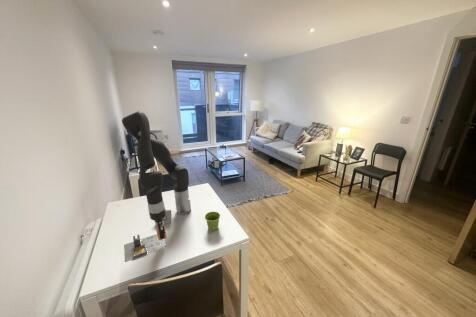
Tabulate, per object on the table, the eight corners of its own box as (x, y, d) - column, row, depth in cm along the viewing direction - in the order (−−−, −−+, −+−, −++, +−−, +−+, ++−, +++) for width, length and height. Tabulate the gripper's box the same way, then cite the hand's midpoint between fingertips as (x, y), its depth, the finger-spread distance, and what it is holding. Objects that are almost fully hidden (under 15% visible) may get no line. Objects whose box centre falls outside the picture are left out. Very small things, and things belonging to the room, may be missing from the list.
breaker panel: (163, 234, 117) (162, 230, 116) (167, 248, 107) (166, 244, 106) (124, 246, 108) (123, 243, 107) (125, 264, 97) (124, 260, 96)
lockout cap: (165, 233, 109) (163, 222, 106) (166, 237, 106) (164, 226, 103) (157, 236, 107) (155, 224, 104) (158, 240, 104) (156, 229, 101)
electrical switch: (156, 225, 125) (154, 212, 122) (159, 221, 130) (157, 208, 127) (171, 225, 125) (169, 212, 122) (173, 221, 130) (172, 208, 127)
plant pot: (202, 230, 120) (201, 218, 117) (209, 221, 128) (209, 210, 125) (216, 234, 117) (215, 222, 114) (223, 224, 125) (222, 213, 122)
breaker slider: (140, 241, 110) (138, 233, 108) (141, 245, 106) (139, 237, 105) (134, 243, 108) (132, 235, 107) (135, 247, 105) (133, 239, 103)
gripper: (146, 204, 104) (152, 230, 110) (151, 218, 92) (157, 247, 98) (161, 199, 107) (166, 225, 113) (167, 213, 96) (172, 241, 102)
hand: (161, 235), depth 106 cm, fingers closed on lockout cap, 4 cm apart
